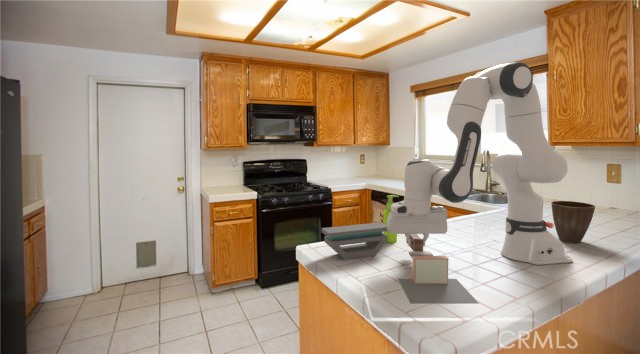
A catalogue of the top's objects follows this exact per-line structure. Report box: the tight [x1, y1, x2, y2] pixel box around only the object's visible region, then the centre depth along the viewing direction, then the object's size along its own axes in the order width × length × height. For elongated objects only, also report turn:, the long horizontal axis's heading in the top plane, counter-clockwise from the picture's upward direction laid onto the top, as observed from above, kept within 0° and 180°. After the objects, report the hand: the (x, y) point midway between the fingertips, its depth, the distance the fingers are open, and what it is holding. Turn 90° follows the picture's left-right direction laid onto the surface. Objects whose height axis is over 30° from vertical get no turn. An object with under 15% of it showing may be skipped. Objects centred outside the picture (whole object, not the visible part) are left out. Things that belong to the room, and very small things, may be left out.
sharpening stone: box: [321, 221, 388, 261], centre depth 129 cm, size 25×8×11 cm, turn 109°
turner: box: [405, 234, 435, 260], centre depth 116 cm, size 21×7×4 cm, turn 179°
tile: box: [411, 255, 449, 284], centre depth 102 cm, size 10×2×8 cm, turn 89°
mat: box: [397, 278, 479, 305], centre depth 97 cm, size 18×16×1 cm
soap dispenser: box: [382, 194, 400, 244], centre depth 147 cm, size 6×7×20 cm
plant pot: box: [551, 200, 596, 244], centre depth 144 cm, size 15×15×16 cm
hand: (416, 245), depth 117 cm, fingers closed on turner, 3 cm apart
